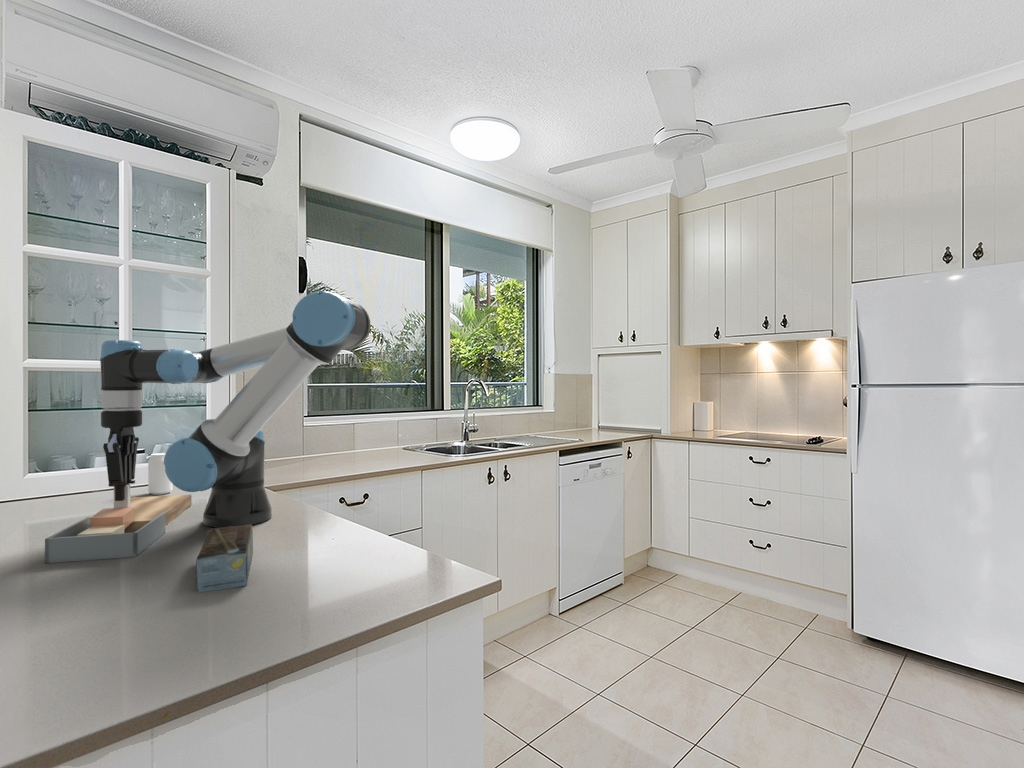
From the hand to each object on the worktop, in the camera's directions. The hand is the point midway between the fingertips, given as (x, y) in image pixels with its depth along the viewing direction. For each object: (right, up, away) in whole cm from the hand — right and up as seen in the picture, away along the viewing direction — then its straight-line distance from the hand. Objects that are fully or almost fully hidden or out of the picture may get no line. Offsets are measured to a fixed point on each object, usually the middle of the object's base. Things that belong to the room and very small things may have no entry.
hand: (122, 514), depth 122 cm
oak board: (-3, -4, +12) cm, 13 cm away
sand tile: (+2, -4, -9) cm, 10 cm away
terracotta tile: (+1, -2, -4) cm, 4 cm away
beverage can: (-19, -4, +43) cm, 47 cm away
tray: (+4, -5, -9) cm, 11 cm away
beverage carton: (+36, -5, -23) cm, 43 cm away
